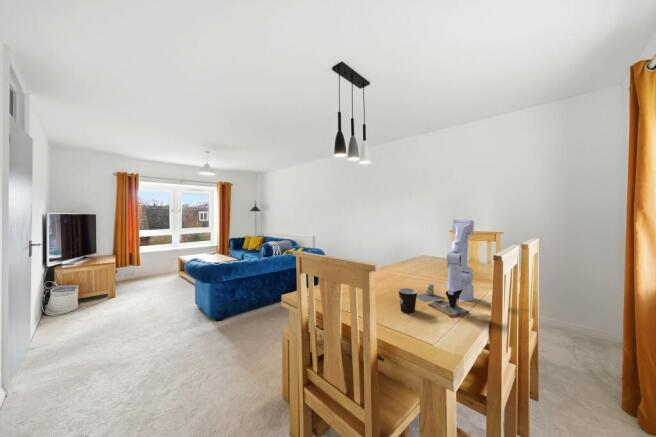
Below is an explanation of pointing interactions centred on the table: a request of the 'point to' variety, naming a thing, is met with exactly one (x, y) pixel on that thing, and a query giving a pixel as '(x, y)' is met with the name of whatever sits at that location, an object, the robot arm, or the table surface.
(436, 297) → the mat
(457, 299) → the cream teal cylinder
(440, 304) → the brown compartment tray
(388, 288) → the table surface
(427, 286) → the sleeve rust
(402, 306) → the coffee mug
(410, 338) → the table surface
